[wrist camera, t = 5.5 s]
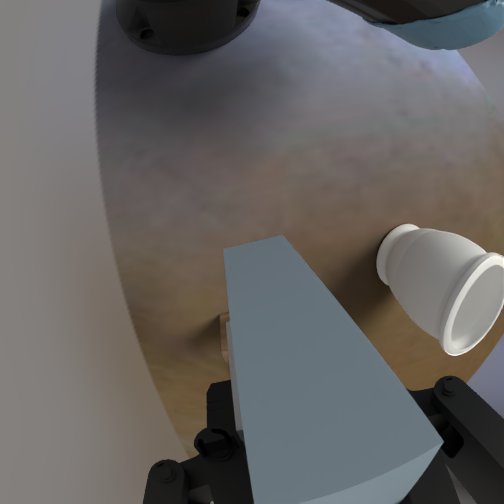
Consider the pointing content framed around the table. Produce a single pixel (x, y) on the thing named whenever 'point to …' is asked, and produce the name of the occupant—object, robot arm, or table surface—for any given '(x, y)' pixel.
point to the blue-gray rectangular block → (316, 390)
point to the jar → (443, 284)
